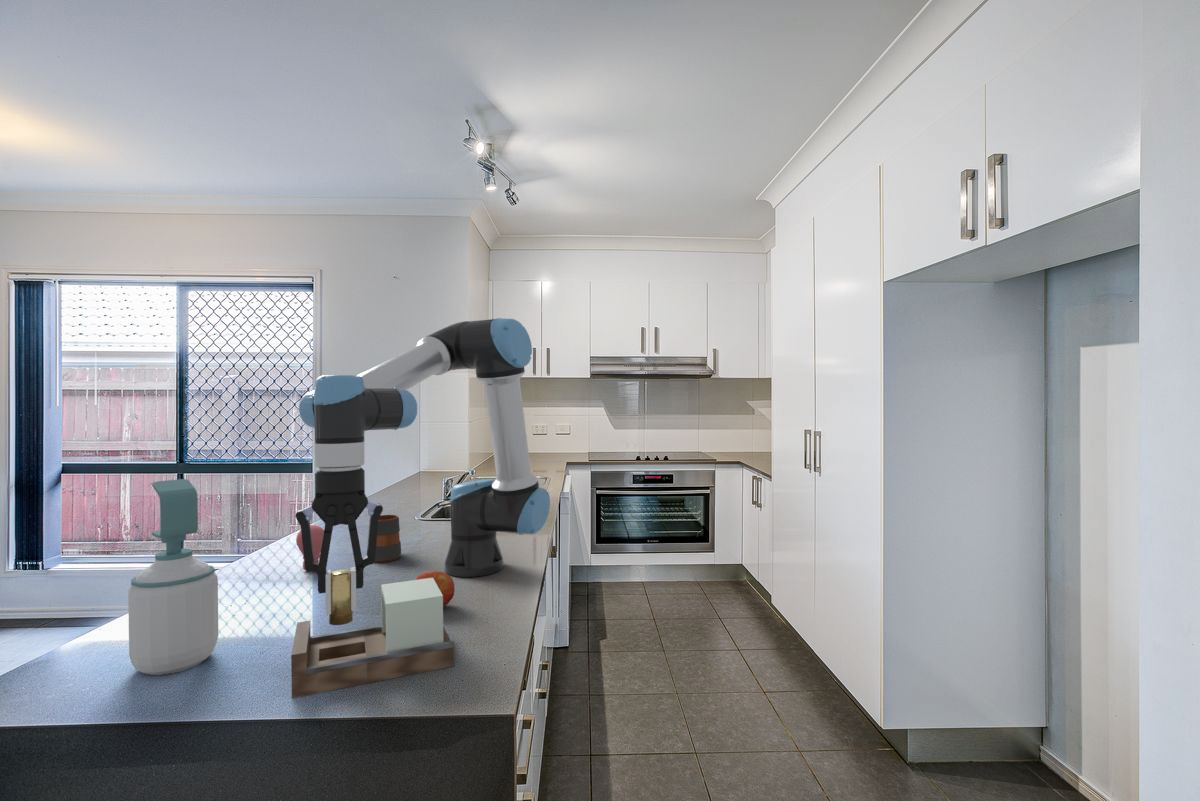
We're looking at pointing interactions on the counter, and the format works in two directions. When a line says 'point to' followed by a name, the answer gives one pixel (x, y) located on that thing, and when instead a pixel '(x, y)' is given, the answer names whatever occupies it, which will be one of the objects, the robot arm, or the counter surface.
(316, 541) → the light bulb
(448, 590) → the apple
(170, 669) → the soap bottle
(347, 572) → the brass peg
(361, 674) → the housing base
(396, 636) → the cover
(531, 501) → the robot arm
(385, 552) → the mug
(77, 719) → the counter surface
